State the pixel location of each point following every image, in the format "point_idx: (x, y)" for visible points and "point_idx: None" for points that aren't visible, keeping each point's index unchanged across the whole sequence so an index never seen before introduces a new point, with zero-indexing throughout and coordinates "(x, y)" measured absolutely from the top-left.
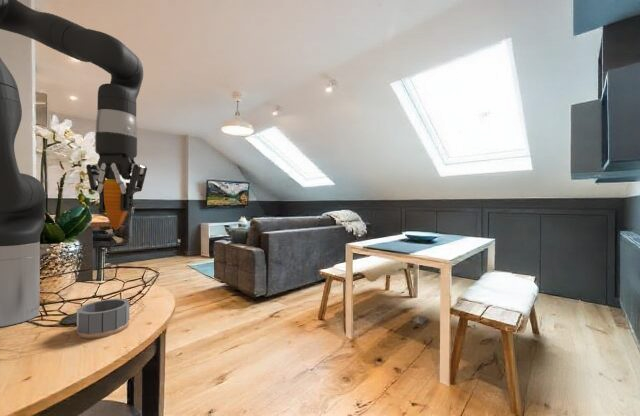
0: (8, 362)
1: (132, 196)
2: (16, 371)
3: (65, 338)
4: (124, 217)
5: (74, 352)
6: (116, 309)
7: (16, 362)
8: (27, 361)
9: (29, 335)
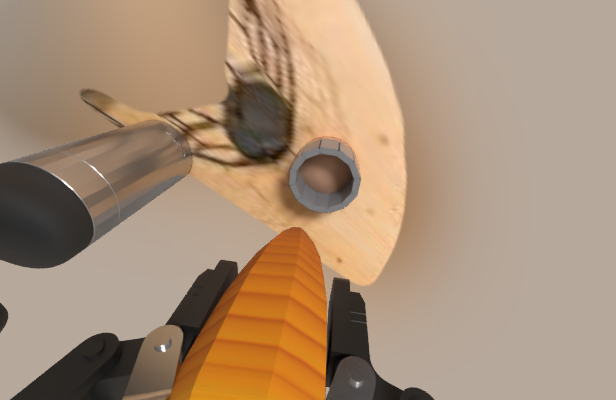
0: None
1: (368, 355)
2: None
3: None
4: (318, 254)
5: (341, 222)
6: (356, 194)
7: None
8: None
9: (246, 191)
